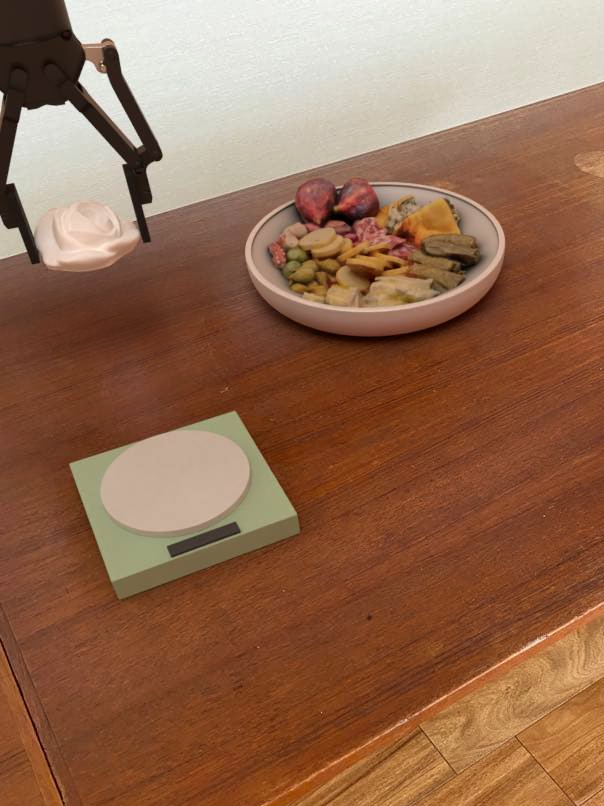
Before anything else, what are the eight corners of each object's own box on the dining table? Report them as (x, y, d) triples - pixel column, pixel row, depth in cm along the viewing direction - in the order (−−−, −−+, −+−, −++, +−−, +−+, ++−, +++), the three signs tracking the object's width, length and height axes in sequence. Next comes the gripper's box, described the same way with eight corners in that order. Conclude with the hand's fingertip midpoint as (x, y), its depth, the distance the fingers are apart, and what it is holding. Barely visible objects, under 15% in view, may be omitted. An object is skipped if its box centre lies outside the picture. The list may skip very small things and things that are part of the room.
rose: (24, 188, 82) (127, 173, 84) (40, 232, 86) (139, 217, 87) (22, 237, 76) (134, 220, 77) (39, 283, 79) (147, 265, 81)
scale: (119, 600, 71) (108, 575, 68) (76, 482, 80) (65, 456, 78) (300, 533, 75) (296, 507, 73) (239, 429, 85) (233, 403, 83)
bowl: (555, 282, 102) (562, 219, 96) (353, 386, 89) (347, 320, 84) (395, 196, 118) (392, 137, 112) (204, 274, 105) (191, 212, 100)
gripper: (-155, 9, 62) (-31, 289, 78) (158, -30, 66) (213, 242, 83) (-147, -18, 67) (-32, 250, 83) (144, -53, 71) (199, 208, 88)
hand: (90, 246), depth 83 cm, fingers closed on rose, 10 cm apart
